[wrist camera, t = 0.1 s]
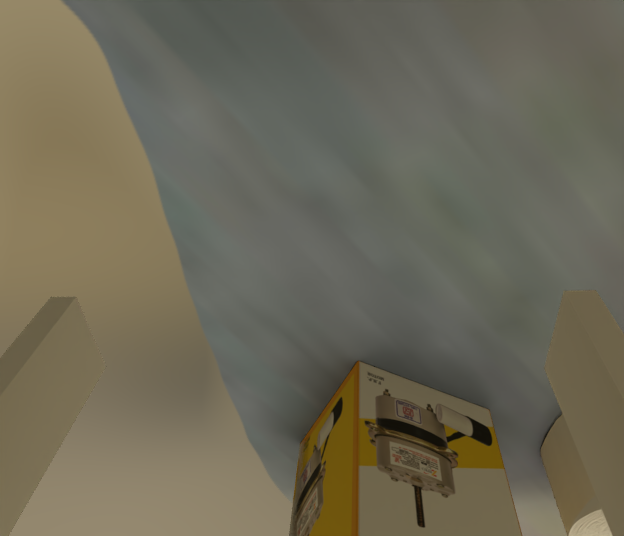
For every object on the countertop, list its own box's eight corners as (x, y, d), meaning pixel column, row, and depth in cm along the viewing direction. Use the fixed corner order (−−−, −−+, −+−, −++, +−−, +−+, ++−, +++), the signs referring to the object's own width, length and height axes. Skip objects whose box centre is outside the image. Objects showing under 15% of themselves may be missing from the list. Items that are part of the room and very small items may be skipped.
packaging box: (299, 444, 62) (269, 701, 41) (357, 360, 53) (355, 635, 33) (415, 483, 65) (440, 743, 44) (489, 409, 56) (564, 693, 35)
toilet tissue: (596, 484, 62) (632, 570, 53) (511, 456, 60) (534, 540, 52) (660, 434, 56) (712, 523, 48) (568, 402, 54) (605, 488, 46)
